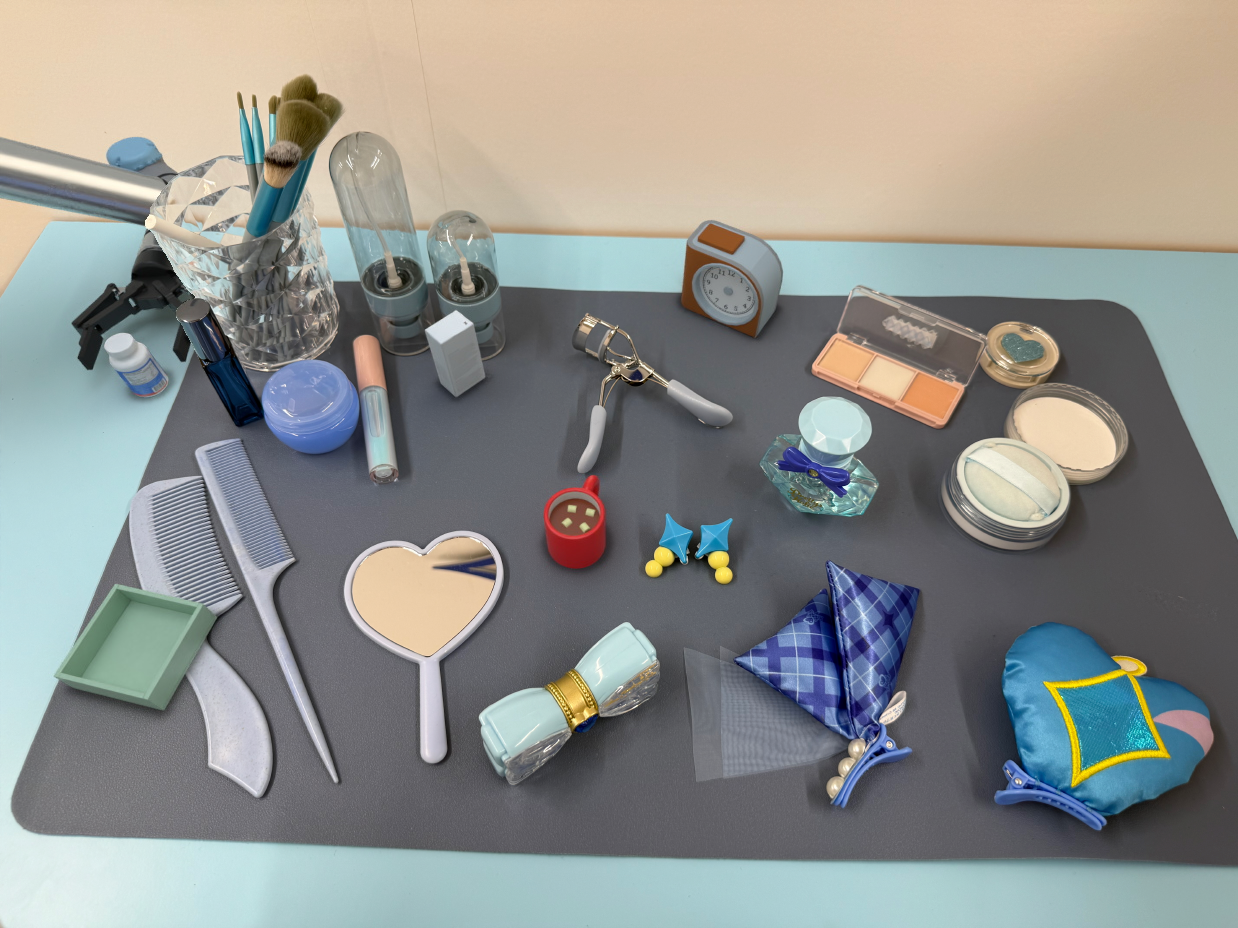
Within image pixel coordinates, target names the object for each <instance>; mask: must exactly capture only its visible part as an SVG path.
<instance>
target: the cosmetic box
mask: <svg viewBox="0 0 1238 928" xmlns="http://www.w3.org/2000/svg"><path fill="white" fill-rule="evenodd" d="M475 328H476V327H475V324H474V322H472V321H471V320H470V319H468V318H467V317H466V316H465V315H463V314H462V313H461V312H459V311H458V310H457V309H455V310H453V311H452V312H450V313H449V314H448V315H446V316H444V317H443V318H442V319H440V320H438V321H436V322H435V323H433V324H432V325H430V326H428V327H427V328H426V329H424V332H425V333H424V334H425V337H426V340H427V342H428V347H429V350H430V351H431V356H432V359H433V363H434V366H435V369H436V372H437V373H436V374H437V376H438V379H439V382H440V385H442V386H443V387H444V388H445V389H446V390H447V391H448V392H449V393H451V395H453V396H454V397H455V398H458V397H459V396H461V395H462V394H464V393H465V392H467V391H468V390H469V389H471V388H472V387H474V386H475V385H477V384H478V383H480V382H481V381H483V380H484V379H485V378H486V373H485V368H484V364H483V359H482V355H481V350H480V346H479V343H478V338H477V333H476V329H475Z"/></svg>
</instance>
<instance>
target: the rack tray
mask: <svg viewBox="0 0 1238 928" xmlns="http://www.w3.org/2000/svg"><path fill="white" fill-rule="evenodd" d="M217 619H218V616H216V615H215V614H214V613H213V611H212V610H210V609H209V607H208V606H207V605H205V604H204V603H201V602H197V601H193V600H189V599H184V598H180V597H177V596H176V597H175V596H171V595H166V594H162V593H158V592H154V591H151V590H145V589H141V588H138V587H131V586H127V585H123V584H118V583H114V585H113V586H112V588H111V589H110V591H109V592H108V594H107V595H106V597H105V598H104V599H103V601H102V602H101V604H100V605H99V607H98V609H97V610H96V611H95V613H94V615H93V616H92V617H91V619H90V621H89V622H88V623H87V625H86V627H85V628H84V630H83V631H82V632H81V634H80V636H79V637H78V639H77V640H76V641H75V643H74V644H73V646H72V647H71V649H70V650H69V652H68V653H67V655H66V657H65V658H64V659H63V660H62V662H61V664H59V667H58V668H57V670H56V671H55V673H54V674H53V677H54V678H55V679H57V680H59V681H60V682H62V683H64V684H66V685H67V686H69V687H71V688H72V689H75V690H80V691H83V692H88V693H92V694H95V695H100V696H104V697H108V698H112V699H116V700H120V701H124V702H128V703H131V704H134V705H135V704H136V705H140V706H142V707H143V706H144V707H148V708H151V709H155V710H160V711H162V712H163V711H165V710H166V709H167V706H168V704H169V703H170V701H171V700H172V697H173V696H174V694H175V692H176V691H177V689H178V687H179V686H180V684H181V683H182V680H183V678H184V676H185V674H186V673H187V671H188V670H189V668H190V666H191V664H192V662H193V661H194V659H195V657H196V656H197V654H198V652H199V650H200V648H201V646H202V645H203V643H204V642H205V639H206V638H207V636H208V634H209V632H210V631H211V629H212V627H213V626H214V624H215V622H216V620H217Z"/></svg>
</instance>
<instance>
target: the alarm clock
mask: <svg viewBox="0 0 1238 928" xmlns="http://www.w3.org/2000/svg"><path fill="white" fill-rule="evenodd" d="M684 255H685V257H684V267H683V275H682V277H683V278H682V287H681V299H680V303H681V306H682V307H683V308H685V309H686V310H688V311H691V312H693V313H696V314H697V315H700V316H703V317H705V318H708V319H710V320H712V321H715V322H717V323H719V324H722V325H724V326H727V327H729V328H732V329H734V330H736V331H737V332H740V333H742V334H745V335H747V336H750V337H752V338H754V339H755V338H757V336H758V335H759V334H760V332H761V331H762V330H763V328H764V327H765V325H766V324H767V322H768V321H769V320H770V318H771V317H772V316H773V314H774V313H775V311H776V310H777V306H778V301H779V298H780V297H779V296H780V293H781V289H782V285H783V277H784V269H783V265H782V262H781V260H780V257H779V255H778V253H777V252H776V251H775V249H774V248H773V247H772V246H771V245H770V244H769V243H768V242H766V241H765V240H764V239H762V238H761V237H759V236H757V235H754V234H753V233H751V232H747V231H745V230H742V229H740V228H736V227H734V226H732V225H729V224H726V223H724V222H722V221H718V220H715V219H708V220H704V221H702V222H701V223H700V224H699V225H698V226H697V228H696V229H694V231H693V232H692V233H691V234H690V235H689V237H687V240H686V245H685V254H684Z"/></svg>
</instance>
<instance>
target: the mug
mask: <svg viewBox="0 0 1238 928" xmlns="http://www.w3.org/2000/svg"><path fill="white" fill-rule="evenodd" d="M599 494H600V479H599V477H598V475H595V474H591V475H589V476H588V477H586V479H585V481H584V483H583V485H582V487H567V488H564V489H561V490H559V491H557V492H556V493H554V494H553V495H551V497H549V499H548V500H547V501H546V503H545V506H544V509H543V522H544V529H545V535H546V543H547V549H548V553H549V555H550V556H551V558H552V559H553V560H554V561H555V562H556V563H557V564H558V565H560V566H562V567H564V568H566V569H567V568H569V569H577V570H578V569H583V568H587V567H590V566H592V565H593V564H595V563H596V562H597V561H598V560H599V559H600V558H601V557H602V555H603V554H604V552H605V549H606V509H605V504H604V503H603V501H602V500H601V498H600V497H599Z"/></svg>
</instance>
